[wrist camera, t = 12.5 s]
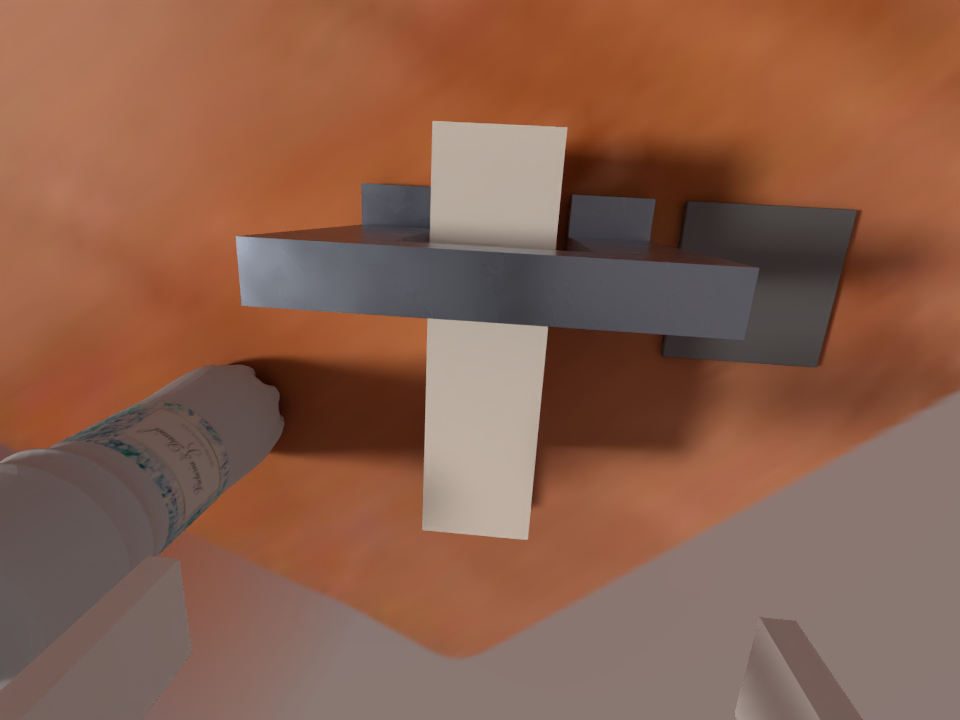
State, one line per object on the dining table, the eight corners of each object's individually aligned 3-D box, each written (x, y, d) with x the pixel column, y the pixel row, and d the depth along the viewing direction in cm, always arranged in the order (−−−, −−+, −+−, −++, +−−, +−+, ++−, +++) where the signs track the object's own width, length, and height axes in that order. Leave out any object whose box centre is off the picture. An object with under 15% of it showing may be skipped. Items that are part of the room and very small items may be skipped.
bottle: (318, 431, 31) (-20, 803, 11) (228, 470, 32) (-210, 863, 13) (259, 333, 29) (-243, 572, 10) (168, 378, 30) (-434, 667, 11)
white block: (462, 150, 26) (432, 120, 17) (551, 155, 25) (567, 127, 17) (447, 497, 31) (420, 606, 23) (520, 503, 31) (520, 616, 22)
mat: (686, 201, 25) (688, 201, 25) (852, 210, 25) (857, 210, 24) (661, 354, 28) (663, 356, 27) (812, 365, 27) (816, 367, 27)
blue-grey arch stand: (367, 184, 26) (229, 161, 14) (650, 199, 25) (775, 189, 13) (368, 298, 28) (247, 369, 16) (633, 316, 27) (730, 406, 15)
